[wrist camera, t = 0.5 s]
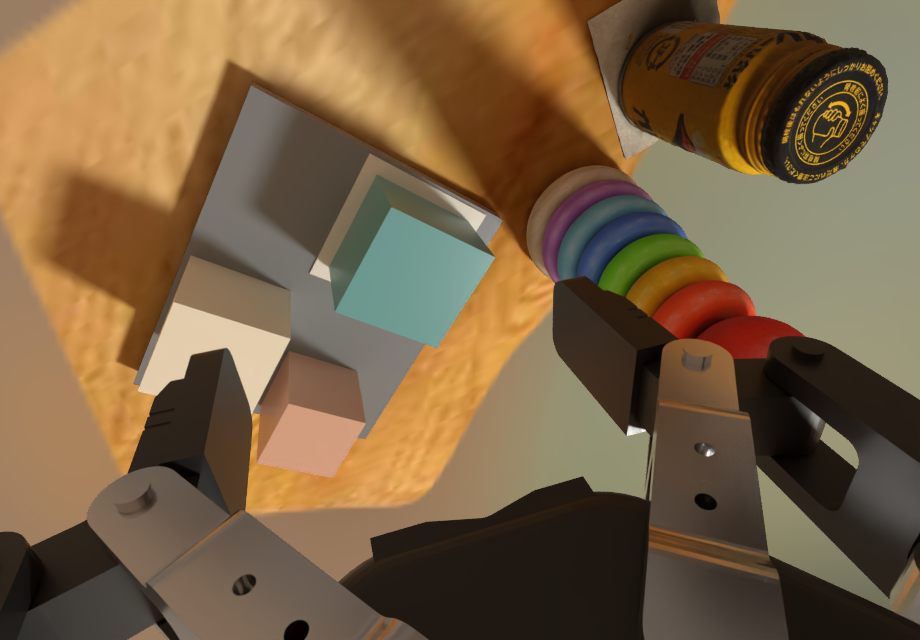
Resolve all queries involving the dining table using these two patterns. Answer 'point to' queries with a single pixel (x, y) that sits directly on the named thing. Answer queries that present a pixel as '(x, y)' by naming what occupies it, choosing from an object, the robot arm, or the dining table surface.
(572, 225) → the stacking toy
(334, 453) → the pink cube
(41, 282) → the dining table surface
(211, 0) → the dining table surface
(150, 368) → the cream brick
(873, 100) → the condiment
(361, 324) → the baseplate
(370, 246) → the teal base brick
